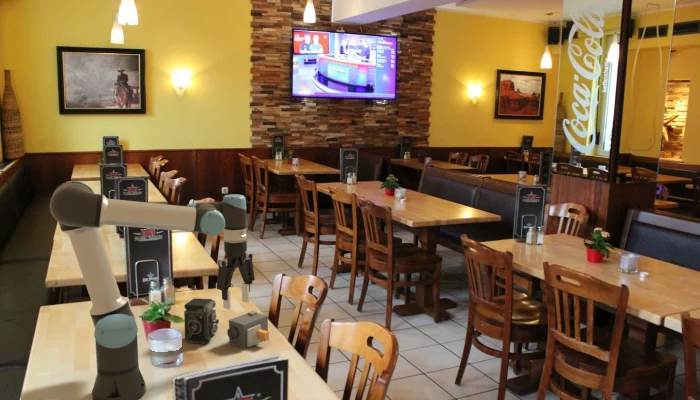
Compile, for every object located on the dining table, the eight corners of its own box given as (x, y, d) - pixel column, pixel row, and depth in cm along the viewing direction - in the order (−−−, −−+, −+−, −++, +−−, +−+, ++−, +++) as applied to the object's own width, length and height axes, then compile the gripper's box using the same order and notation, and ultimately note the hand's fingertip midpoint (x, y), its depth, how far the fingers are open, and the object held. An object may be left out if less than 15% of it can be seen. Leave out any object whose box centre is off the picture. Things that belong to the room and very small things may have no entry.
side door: (256, 349, 212) (256, 332, 211) (247, 346, 215) (246, 329, 214) (269, 343, 217) (268, 327, 216) (259, 340, 220) (259, 324, 219)
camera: (210, 346, 216) (209, 307, 213) (183, 344, 218) (182, 305, 215) (221, 336, 226) (221, 298, 223) (196, 333, 228) (195, 296, 226)
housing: (241, 350, 213) (241, 324, 212) (226, 344, 218) (225, 319, 216) (268, 338, 224) (267, 313, 222) (252, 333, 229) (252, 309, 227)
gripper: (219, 247, 190) (220, 315, 193) (265, 236, 206) (265, 299, 210) (203, 244, 194) (205, 311, 198) (249, 233, 211) (250, 295, 214)
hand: (236, 305), depth 204 cm, fingers open, 8 cm apart
